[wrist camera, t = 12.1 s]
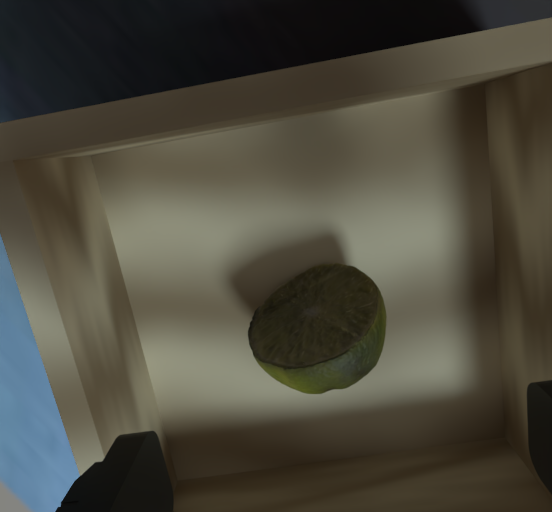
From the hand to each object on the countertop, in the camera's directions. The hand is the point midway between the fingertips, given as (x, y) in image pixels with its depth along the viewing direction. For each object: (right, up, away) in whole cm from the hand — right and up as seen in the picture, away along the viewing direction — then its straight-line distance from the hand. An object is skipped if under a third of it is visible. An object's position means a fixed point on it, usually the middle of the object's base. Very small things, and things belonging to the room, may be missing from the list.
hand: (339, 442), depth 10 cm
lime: (0, +2, +9) cm, 9 cm away
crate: (0, +2, +10) cm, 10 cm away
